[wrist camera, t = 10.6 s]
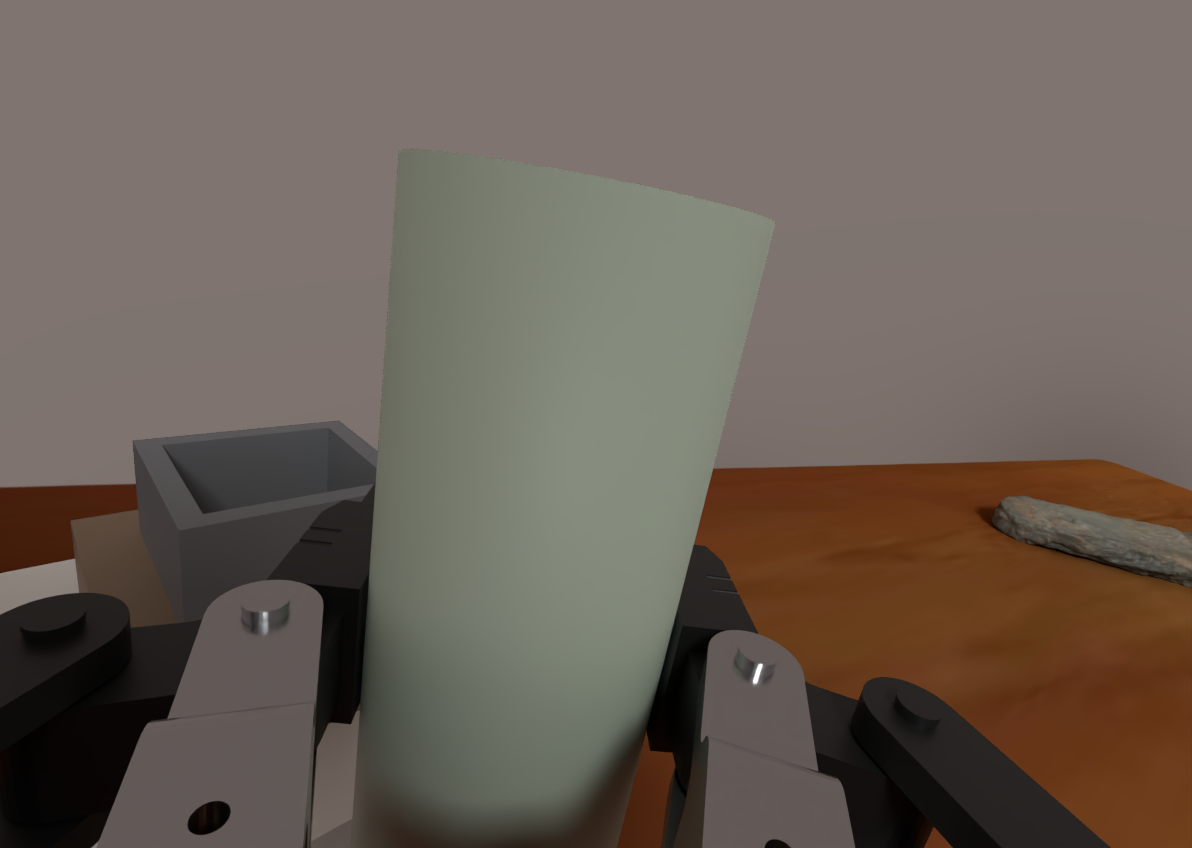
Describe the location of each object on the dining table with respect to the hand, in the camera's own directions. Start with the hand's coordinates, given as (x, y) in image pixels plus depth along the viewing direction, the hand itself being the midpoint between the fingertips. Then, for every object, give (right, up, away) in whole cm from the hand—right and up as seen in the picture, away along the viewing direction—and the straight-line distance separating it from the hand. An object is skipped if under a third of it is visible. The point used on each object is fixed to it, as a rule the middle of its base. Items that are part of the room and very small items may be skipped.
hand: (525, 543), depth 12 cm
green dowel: (-1, -10, 0) cm, 10 cm away
